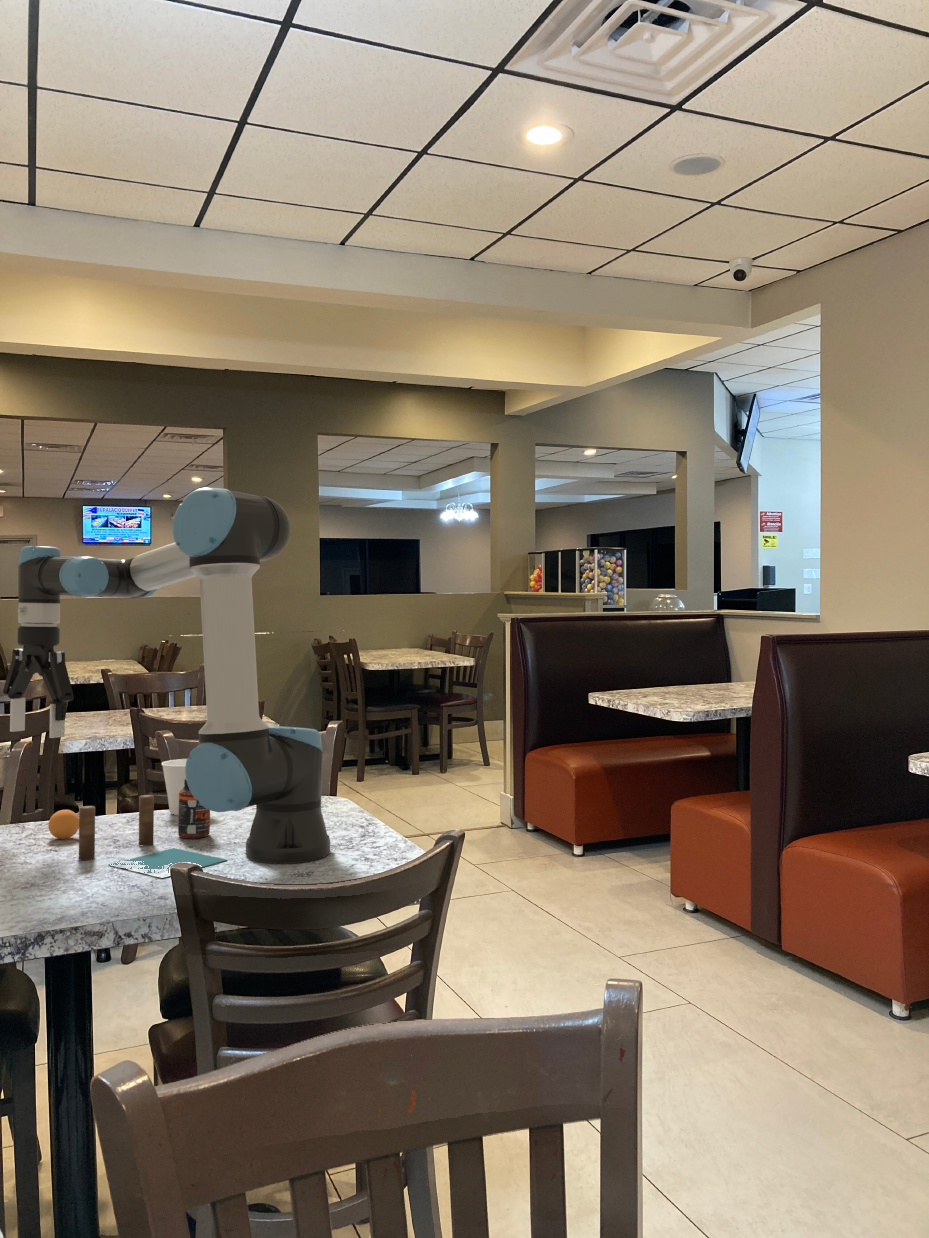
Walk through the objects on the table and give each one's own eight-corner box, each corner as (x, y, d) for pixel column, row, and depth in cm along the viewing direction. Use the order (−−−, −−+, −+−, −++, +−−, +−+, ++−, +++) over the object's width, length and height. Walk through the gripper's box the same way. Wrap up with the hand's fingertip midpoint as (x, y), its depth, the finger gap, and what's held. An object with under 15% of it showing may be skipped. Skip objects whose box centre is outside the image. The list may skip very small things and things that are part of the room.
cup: (215, 808, 208) (215, 759, 208) (198, 818, 198) (198, 766, 198) (172, 807, 209) (172, 758, 209) (153, 817, 199) (153, 765, 199)
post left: (97, 857, 165) (98, 807, 165) (84, 861, 163) (85, 809, 163) (88, 855, 167) (89, 805, 167) (75, 858, 165) (76, 807, 165)
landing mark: (227, 860, 165) (227, 859, 165) (162, 879, 153) (162, 877, 153) (174, 849, 172) (174, 847, 172) (108, 865, 161) (108, 864, 161)
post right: (156, 843, 176) (156, 795, 176) (144, 846, 174) (145, 798, 174) (147, 841, 177) (147, 794, 177) (135, 844, 175) (136, 796, 175)
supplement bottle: (198, 840, 179) (198, 781, 179) (171, 838, 181) (172, 779, 181) (216, 834, 185) (216, 776, 184) (190, 831, 186) (190, 774, 186)
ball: (85, 837, 180) (85, 809, 180) (59, 843, 175) (59, 814, 175) (68, 833, 183) (68, 805, 183) (42, 839, 178) (42, 810, 178)
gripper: (-15, 623, 188) (-17, 730, 188) (59, 627, 174) (56, 742, 174) (20, 623, 194) (18, 726, 194) (94, 627, 180) (92, 738, 181)
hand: (36, 734), depth 184 cm, fingers open, 12 cm apart
